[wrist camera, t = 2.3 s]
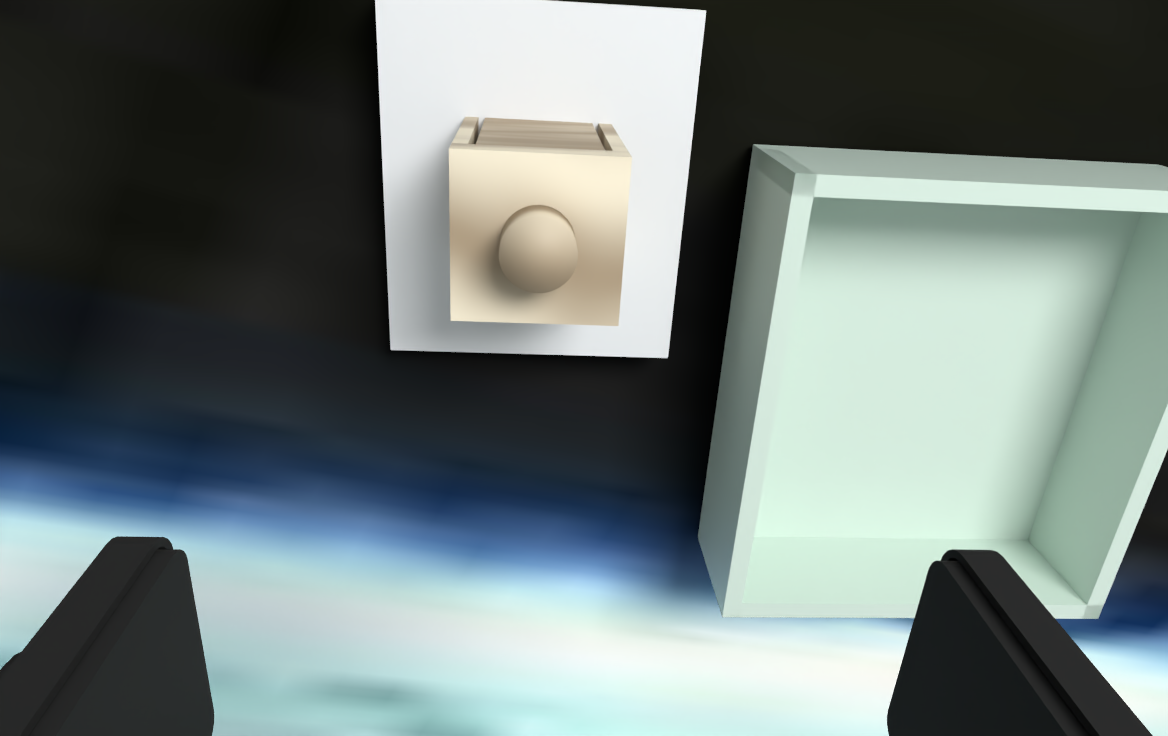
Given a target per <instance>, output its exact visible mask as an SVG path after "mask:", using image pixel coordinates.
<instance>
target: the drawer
mask: <svg viewBox="0 0 1168 736" xmlns="http://www.w3.org/2000/svg"><path fill="white" fill-rule="evenodd" d="M631 165H632V156H631V155H630V153H629V152H628V150H627V148H626V147H625V145H624V143H623V142H622V140H621V139H620V137H619V135H618V134H617V132H616V130H615V129H614V127H613V126H612V124H601V123H599V126H598V134H597V132H596V130H595V128H594V126H593V124H592V123H581V122H562V121H543V120H523V119H504V118H485V120H484V122H483V125H482V128H481V131H480V134H479V117H465V118H464V120H463V122H462V124H461V126H460V128H459V130H458V132H457V134H456V136H455V138H454V139H453V141H452V143H451V145H450V147H449V215H450V308H451V321H474V322H505V323H536V324H568V325H599V326H618V325H619V313H620V300H621V288H622V276H623V263H624V251H625V239H626V226H627V214H628V202H629V189H630V177H631Z"/></svg>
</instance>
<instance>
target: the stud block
mask: <svg viewBox="0 0 1168 736" xmlns="http://www.w3.org/2000/svg"><path fill="white" fill-rule="evenodd" d="M375 9H376V32H377V55H378V77H379V100H380V122H381V145H382V168H383V190H384V213H385V235H386V258H387V281H388V303H389V326H390V349H391V350H407V351H441V352H476V353H510V354H545V355H579V356H614V357H648V358H668V353H669V344H670V334H671V325H672V316H673V307H674V298H675V289H676V280H677V271H678V262H679V253H680V244H681V235H682V226H683V217H684V207H685V198H686V189H687V180H688V171H689V162H690V153H691V144H692V135H693V126H694V117H695V108H696V99H697V90H698V81H699V71H700V62H701V53H702V44H703V35H704V26H705V17H706V11H704V10H694V9H678V8H662V7H647V6H631V5H615V4H599V3H583V2H567V1H552V0H375ZM465 117H479V134H480V131H481V128H482V125H483V122H484V120H485V118H504V119H523V120H543V121H562V122H581V123H592V124H593V126H594V128H595V130H596V132H597V134H598V126H599V123H601V124H612V126H613V127H614V129H615V130H616V132H617V134H618V135H619V137H620V139H621V140H622V142H623V143H624V145H625V147H626V148H627V150H628V152H629V153H630V155H631V156H632V165H631V177H630V189H629V202H628V214H627V226H626V239H625V251H624V263H623V276H622V288H621V300H620V313H619V325H618V326H599V325H568V324H536V323H505V322H474V321H451V308H450V215H449V147H450V145H451V143H452V141H453V139H454V138H455V136H456V134H457V132H458V130H459V128H460V126H461V124H462V122H463V120H464V118H465Z"/></svg>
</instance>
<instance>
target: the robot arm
mask: <svg viewBox="0 0 1168 736" xmlns="http://www.w3.org/2000/svg"><path fill="white" fill-rule="evenodd" d="M213 725H214V709H213V703H212V697H211V692H210V686H209V680H208V675H207V669H206V663H205V657H204V652H203V646H202V640H201V634H200V629H199V623H198V617H197V611H196V606H195V600H194V594H193V588H192V583H191V577H190V571H189V566H188V560H187V556H186V554H185V552H184V551H182V550H173V547H172V544H171V542H170V541H169V540H168V539H167V538H164V537H115V538H112V539H111V540H110V541H109V542H108V543H107V544H106V545H105V547H104V548H103V549H102V550H101V552H100V553H99V554H98V556H97V557H96V558H95V559H94V561H93V562H92V563H91V564H90V566H89V567H88V568H87V570H86V571H85V572H84V573H83V575H82V576H81V577H80V578H79V580H78V581H77V582H76V583H75V585H74V586H73V587H72V589H71V590H70V591H69V592H68V594H67V595H66V596H65V597H64V599H63V600H62V601H61V603H60V604H59V605H58V606H57V608H56V609H55V610H54V611H53V613H52V614H51V615H50V617H49V618H48V619H47V620H46V622H45V623H44V624H43V625H42V627H41V628H40V629H39V631H38V632H37V633H36V634H35V636H34V637H33V638H32V639H31V641H30V642H29V643H28V644H27V646H26V647H25V648H24V650H23V651H22V652H20V653H18V654H16V655H14V656H13V657H12V658H11V659H10V660H9V661H8V662H7V663H6V664H5V665H4V666H3V667H2V669H1V670H0V736H212V732H213ZM887 726H888V732H889V736H1152V734H1151V733H1150V732H1149V731H1148V730H1147V728H1146V727H1145V726H1144V725H1143V724H1142V722H1141V721H1140V720H1139V719H1138V718H1137V716H1136V715H1135V714H1134V713H1133V712H1132V710H1131V709H1130V708H1129V707H1128V706H1127V704H1126V703H1125V702H1124V701H1123V700H1122V698H1121V697H1120V696H1119V695H1118V694H1117V692H1116V691H1115V690H1114V689H1113V688H1112V686H1111V685H1110V684H1109V683H1108V682H1107V680H1106V679H1105V678H1104V677H1103V676H1102V675H1101V673H1100V672H1099V671H1098V670H1097V669H1096V667H1095V666H1094V665H1093V664H1092V663H1091V661H1090V660H1089V659H1088V658H1087V657H1086V655H1085V654H1084V653H1083V652H1082V651H1081V649H1080V648H1079V647H1078V646H1077V645H1076V643H1075V642H1074V641H1073V640H1072V639H1071V637H1070V636H1069V635H1068V634H1067V633H1066V631H1065V630H1064V629H1063V628H1062V627H1061V625H1060V624H1059V623H1058V622H1057V621H1056V619H1055V618H1054V617H1053V616H1052V615H1051V613H1050V612H1049V611H1048V610H1047V609H1046V607H1045V606H1044V605H1043V604H1042V603H1041V601H1040V600H1039V599H1038V598H1037V597H1036V595H1035V594H1034V593H1033V592H1032V591H1031V589H1030V588H1029V587H1028V586H1027V585H1026V583H1025V582H1024V581H1023V580H1022V579H1021V577H1020V576H1019V575H1018V574H1017V573H1016V571H1015V570H1014V569H1013V568H1012V567H1011V565H1010V564H1009V563H1008V562H1007V561H1006V559H1005V558H1004V557H1003V556H1002V555H1001V554H999V553H998V552H997V551H993V550H962V549H952V550H948V551H946V553H945V554H944V555H943V556H942V558H941V561H934V562H933V563H932V564H931V565H930V567H929V570H928V573H927V576H926V580H925V583H924V587H923V590H922V594H921V597H920V601H919V604H918V608H917V611H916V615H915V618H914V622H913V625H912V629H911V632H910V636H909V639H908V643H907V646H906V650H905V653H904V657H903V660H902V664H901V667H900V671H899V674H898V678H897V681H896V685H895V688H894V692H893V695H892V699H891V702H890V706H889V709H888V715H887Z"/></svg>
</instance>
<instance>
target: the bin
mask: <svg viewBox="0 0 1168 736" xmlns="http://www.w3.org/2000/svg"><path fill="white" fill-rule="evenodd" d="M1167 449H1168V167H1164V166H1161V165H1154V164H1134V163H1114V162H1095V161H1075V160H1055V159H1035V158H1015V157H995V156H975V155H955V154H935V153H915V152H895V151H876V150H856V149H836V148H816V147H796V146H776V145H756V144H753V148H752V155H751V163H750V170H749V177H748V184H747V191H746V198H745V205H744V212H743V219H742V226H741V234H740V241H739V248H738V255H737V262H736V269H735V276H734V283H733V290H732V297H731V304H730V312H729V319H728V326H727V333H726V340H725V347H724V354H723V361H722V368H721V375H720V382H719V390H718V397H717V404H716V411H715V418H714V425H713V432H712V439H711V446H710V453H709V461H708V468H707V475H706V482H705V489H704V496H703V503H702V510H701V517H700V524H699V531H698V540H699V543H700V546H701V549H702V553H703V556H704V559H705V562H706V566H707V569H708V572H709V575H710V579H711V582H712V585H713V588H714V592H715V595H716V598H717V601H718V605H719V608H720V611H721V614H722V617H799V618H915V615H916V611H917V608H918V604H919V601H920V597H921V594H922V590H923V587H924V583H925V580H926V576H927V573H928V570H929V567H930V565H931V564H932V563H933V562H934V561H941V558H942V556H943V555H944V554H945V553H946V551H948V550H952V549H962V550H993V551H997V552H998V553H999V554H1001V555H1002V556H1003V557H1004V558H1005V559H1006V561H1007V562H1008V563H1009V564H1010V565H1011V567H1012V568H1013V569H1014V570H1015V571H1016V573H1017V574H1018V575H1019V576H1020V577H1021V579H1022V580H1023V581H1024V582H1025V583H1026V585H1027V586H1028V587H1029V588H1030V589H1031V591H1032V592H1033V593H1034V594H1035V595H1036V597H1037V598H1038V599H1039V600H1040V601H1041V603H1042V604H1043V605H1044V606H1045V607H1046V609H1047V610H1048V611H1049V612H1050V613H1051V615H1052V616H1053V617H1054V618H1070V619H1098V618H1099V615H1100V613H1101V610H1102V608H1103V605H1104V603H1105V600H1106V598H1107V596H1108V593H1109V591H1110V588H1111V586H1112V583H1113V581H1114V578H1115V576H1116V574H1117V571H1118V569H1119V566H1120V564H1121V561H1122V559H1123V556H1124V554H1125V552H1126V549H1127V547H1128V544H1129V542H1130V539H1131V537H1132V535H1133V532H1134V530H1135V527H1136V525H1137V522H1138V520H1139V517H1140V515H1141V513H1142V510H1143V508H1144V505H1145V503H1146V500H1147V498H1148V495H1149V493H1150V491H1151V488H1152V486H1153V483H1154V481H1155V478H1156V476H1157V474H1158V471H1159V469H1160V466H1161V464H1162V461H1163V459H1164V456H1165V454H1166V452H1167Z"/></svg>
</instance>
